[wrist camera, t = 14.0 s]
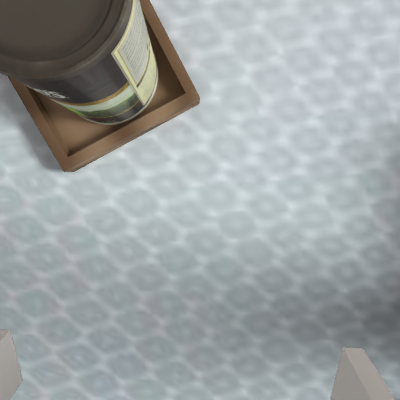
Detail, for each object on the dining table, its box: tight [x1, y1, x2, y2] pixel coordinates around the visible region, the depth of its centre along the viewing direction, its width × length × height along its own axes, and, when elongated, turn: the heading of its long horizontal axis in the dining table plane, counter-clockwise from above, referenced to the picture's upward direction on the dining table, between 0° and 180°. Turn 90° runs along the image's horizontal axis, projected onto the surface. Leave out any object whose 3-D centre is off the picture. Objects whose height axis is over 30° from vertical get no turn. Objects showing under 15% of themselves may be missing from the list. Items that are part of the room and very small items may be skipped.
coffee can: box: [0, 0, 158, 125], centre depth 21 cm, size 10×10×14 cm
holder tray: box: [8, 0, 200, 172], centre depth 28 cm, size 15×15×2 cm
